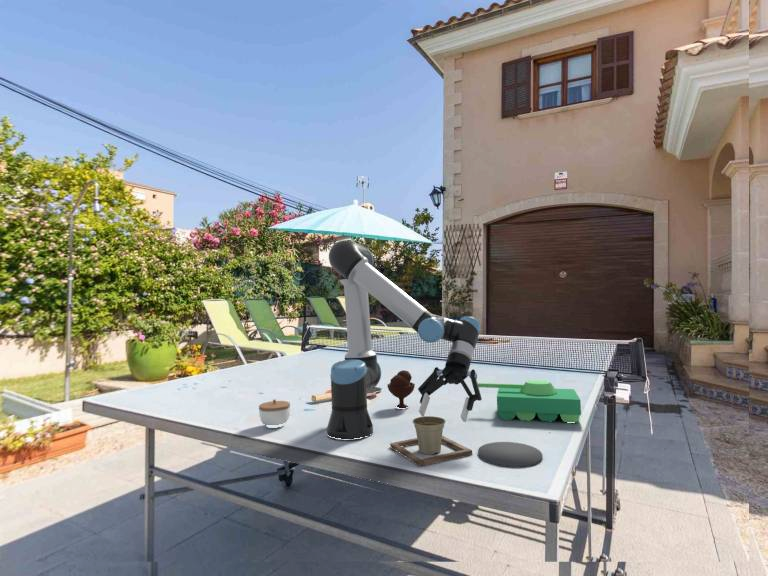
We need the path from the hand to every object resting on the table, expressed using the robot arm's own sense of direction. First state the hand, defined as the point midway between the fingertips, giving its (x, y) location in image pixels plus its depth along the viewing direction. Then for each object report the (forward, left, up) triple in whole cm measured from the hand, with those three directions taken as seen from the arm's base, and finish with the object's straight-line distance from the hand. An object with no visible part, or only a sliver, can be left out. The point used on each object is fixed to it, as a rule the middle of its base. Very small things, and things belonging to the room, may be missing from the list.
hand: (441, 416), depth 127 cm
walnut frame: (+1, -5, -9) cm, 10 cm away
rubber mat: (+15, +12, -9) cm, 21 cm away
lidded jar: (-48, -39, -9) cm, 63 cm away
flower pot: (+1, -5, -9) cm, 10 cm away
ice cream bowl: (-46, +11, -9) cm, 48 cm away
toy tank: (-13, +45, -9) cm, 48 cm away
